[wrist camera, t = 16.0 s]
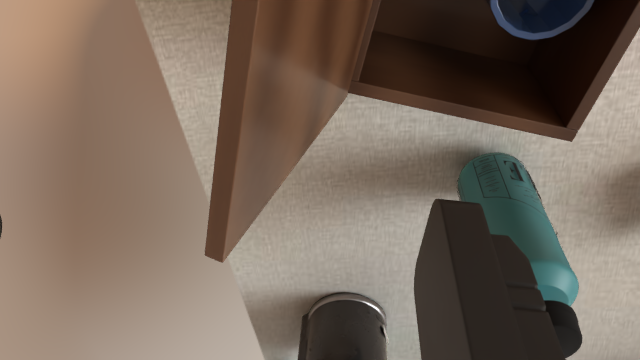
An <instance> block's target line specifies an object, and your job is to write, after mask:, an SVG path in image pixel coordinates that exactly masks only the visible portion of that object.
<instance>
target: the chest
mask: <svg viewBox="0 0 640 360" xmlns="http://www.w3.org/2000/svg"><path fill="white" fill-rule="evenodd" d="M639 28H640V0H594V2H593V4H592V6H591V8H590V10H589V11H588V12H587V13H586V14H585V15H584V16H583V17H582V18H581V19H580V20H579V21H578V22H577V23H576V24H575V25H574V26H573V27H571V28H569V29H567V30H565V31H563V32H561V33H559V34H557V35H556V36H554V37H550V38H543V39H536V40H528V39H524V38H520V37H515V36H513V35H511V34H510V33H508V32H507V31H506V30H504V29H503V28H502V27H501V26H499V25H498V23H497V22H496V20H495V18H494V17H493V15H492V14H491V12H490V10H489V9H488V7H487V6H486V4H485V2H484V1H483V0H373V2H372V5H371V9H370V13H369V16H368V20H367V24H366V28H365V31H364V35H363V39H362V42H361V46H360V50H359V54H358V57H357V61H356V65H355V68H354V72H353V76H352V80H351V83H350V87H349V91H348V93H351V94H356V95H361V96H365V97H370V98H374V99H379V100H383V101H388V102H393V103H397V104H402V105H406V106H411V107H415V108H420V109H424V110H429V111H434V112H438V113H443V114H447V115H452V116H456V117H461V118H466V119H470V120H475V121H479V122H484V123H488V124H493V125H497V126H502V127H507V128H511V129H516V130H520V131H525V132H529V133H534V134H539V135H543V136H548V137H552V138H557V139H561V140H566V141H570V142H572V141H573V139H574V137H575V136H576V134H577V132H578V130H579V129H580V127H581V125H582V124H583V122H584V120H585V119H586V117H587V115H588V114H589V112H590V110H591V109H592V107H593V105H594V104H595V102H596V100H597V98H598V97H599V95H600V93H601V92H602V90H603V88H604V87H605V85H606V83H607V82H608V80H609V78H610V77H611V75H612V73H613V72H614V70H615V68H616V66H617V65H618V63H619V61H620V60H621V58H622V56H623V55H624V53H625V51H626V50H627V48H628V46H629V45H630V43H631V41H632V39H633V38H634V36H635V34H636V33H637V31H638V29H639Z"/></svg>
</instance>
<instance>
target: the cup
mask: <svg viewBox="0 0 640 360" xmlns="http://www.w3.org/2000/svg"><path fill="white" fill-rule="evenodd" d="M483 1H484V2H485V4H486V6H487V7H488V9H489V10H490V12H491V14H492V15H493V17H494V18H495V20H496V22H497V23H498V25H499V26H501V27H502V28H503V29H504V30H506V31H507V32H508V33H510V34H511V35H513V36H515V37H520V38H524V39H528V40H536V39H543V38H550V37H554V36H556V35H557V34H559V33H561V32H563V31H565V30H567V29H569V28H571V27H573V26H574V25H575V24H576V23H577V22H578V21H579V20H580V19H581V18H582V17H583V16H584V15H585V14H586V13H587V12H588V11H589V10H590V8H591V6H592V4H593V2H594V0H483Z"/></svg>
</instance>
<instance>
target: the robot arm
mask: <svg viewBox="0 0 640 360" xmlns="http://www.w3.org/2000/svg"><path fill="white" fill-rule="evenodd" d="M1 233H2V220H1V216H0V237H1ZM414 296H415V305H416V314H417V323H418V332H419V341H420V350H421V359H422V360H566V359H565V356H564V354H563V351H562V348H561V346H560V343H559V340H558V337H557V335H556V332H555V329H554V327H553V324H552V321H551V318H550V316H549V313H548V312H546V305H545V302H544V299H543V297H542V294H541V291H540V290H538V283H537V280H536V278H535V275H534V272H533V269H532V267H531V264H530V261H529V259H528V258H527V256H526V255H525V254H524V253H523V252H522V251H521V250H520V249H519V247H518V246H517V245H516V244H515V243H514V242H513V241H512V239H511V238H510V237H509V236H506V235H496V234H490V231H489V228H488V224H487V221H486V218H485V214H484V211H483V208H482V206H481V204H479V203H474V202H464V201H454V200H444V199H435V201H434V202H433V204H432V207H431V211H430V214H429V218H428V222H427V225H426V229H425V233H424V236H423V240H422V244H421V247H420V251H419V255H418V258H417V262H416V268H415V277H414ZM386 340H387V343H388V335H387V333H386V316H385V313H384V311H383V309H382V308H381V307H380V306H379V305H378V304H377V303H376V302H375V301H373V300H371V299H369V298H367V297H364V296H361V295H357V294H350V293H341V294H334V295H330V296H327V297H325V298H322V299H321V300H319V301H318V302H316V303H315V304H314V305H313V306H312V308H311V309H310V312H309V314H307V315H305V316H303V317H302V326H301V335H300V344H299V354H298V360H387V347H386Z"/></svg>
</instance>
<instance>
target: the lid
mask: <svg viewBox="0 0 640 360" xmlns="http://www.w3.org/2000/svg"><path fill="white" fill-rule="evenodd" d="M372 2H373V0H232V7H231V16H230V25H229V34H228V44H227V53H226V62H225V71H224V81H223V90H222V99H221V108H220V118H219V127H218V136H217V146H216V155H215V164H214V173H213V183H212V192H211V201H210V211H209V220H208V229H207V238H206V247H205V256H207V257H210V258H212V259H215V260H217V261H219V262H224V260H225V259H226V258H227V256H228V255H229V254H230V252H231V251H232V250H233V248H234V247H235V246H236V244H237V243H238V242H239V240H240V239H241V237H242V236H243V235H244V233H245V232H246V231H247V229H248V228H249V227H250V225H251V224H252V223H253V221H254V220H255V219H256V217H257V216H258V215H259V213H260V212H261V211H262V209H263V208H264V207H265V205H266V204H267V203H268V201H269V200H270V199H271V197H272V196H273V195H274V193H275V192H276V191H277V189H278V188H279V187H280V185H281V184H282V183H283V181H284V180H285V179H286V177H287V176H288V175H289V173H290V172H291V171H292V169H293V168H294V167H295V165H296V164H297V163H298V161H299V160H300V159H301V157H302V156H303V155H304V153H305V152H306V151H307V149H308V148H309V147H310V145H311V144H312V143H313V141H314V140H315V139H316V137H317V136H318V135H319V133H320V132H321V131H322V129H323V128H324V127H325V125H326V124H327V123H328V121H329V120H330V119H331V117H332V116H333V115H334V113H335V112H336V111H337V109H338V108H339V106H340V105H341V104H342V102H343V101H344V100H345V98H346V97H347V94H348V91H349V87H350V83H351V80H352V76H353V72H354V68H355V65H356V61H357V57H358V54H359V50H360V46H361V42H362V39H363V35H364V31H365V28H366V24H367V20H368V16H369V13H370V9H371V5H372Z"/></svg>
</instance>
